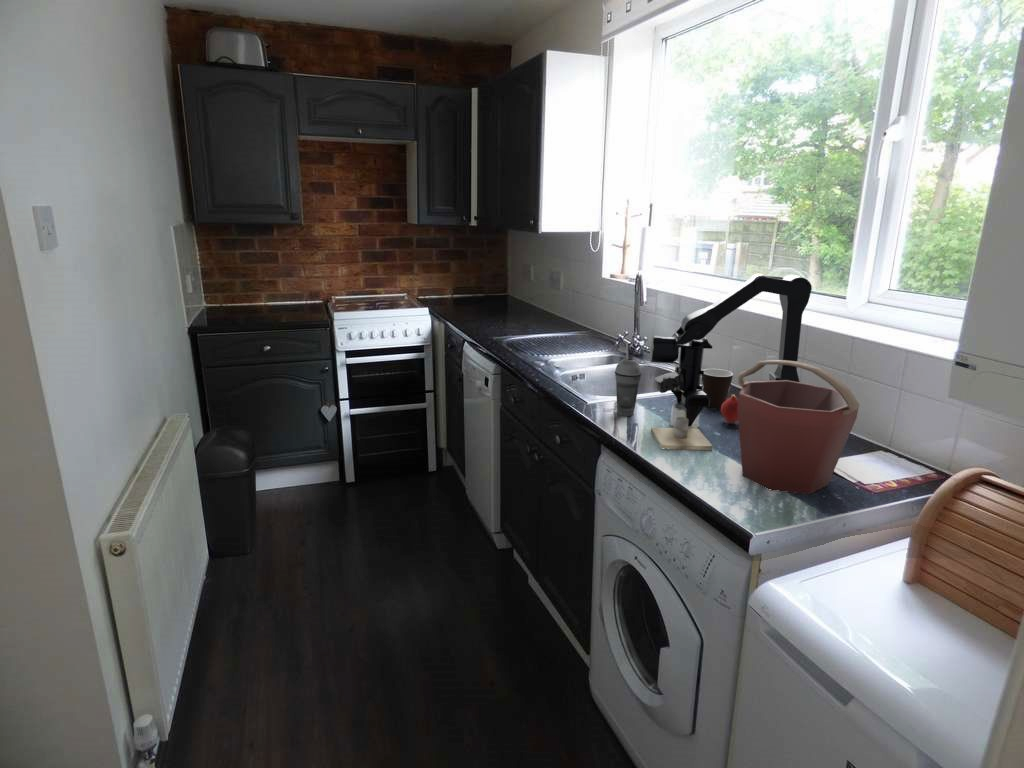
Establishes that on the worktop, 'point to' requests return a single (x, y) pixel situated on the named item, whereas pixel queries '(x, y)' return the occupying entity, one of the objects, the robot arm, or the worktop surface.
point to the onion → (730, 409)
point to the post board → (681, 443)
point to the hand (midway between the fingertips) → (684, 421)
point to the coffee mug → (716, 386)
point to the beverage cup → (627, 384)
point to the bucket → (793, 429)
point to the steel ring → (681, 415)
